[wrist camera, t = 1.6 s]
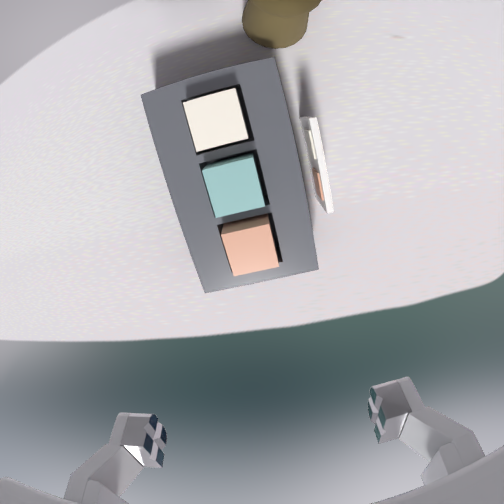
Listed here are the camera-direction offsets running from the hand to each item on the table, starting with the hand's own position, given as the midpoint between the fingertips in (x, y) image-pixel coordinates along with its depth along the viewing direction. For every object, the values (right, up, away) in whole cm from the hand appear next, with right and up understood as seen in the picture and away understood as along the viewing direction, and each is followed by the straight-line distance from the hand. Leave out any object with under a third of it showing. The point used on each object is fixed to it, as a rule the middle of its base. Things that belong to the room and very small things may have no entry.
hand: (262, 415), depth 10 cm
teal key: (-2, +12, +16) cm, 20 cm away
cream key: (-3, +17, +14) cm, 22 cm away
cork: (+2, +27, +12) cm, 30 cm away
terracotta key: (0, +7, +18) cm, 20 cm away
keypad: (-1, +14, +18) cm, 23 cm away
